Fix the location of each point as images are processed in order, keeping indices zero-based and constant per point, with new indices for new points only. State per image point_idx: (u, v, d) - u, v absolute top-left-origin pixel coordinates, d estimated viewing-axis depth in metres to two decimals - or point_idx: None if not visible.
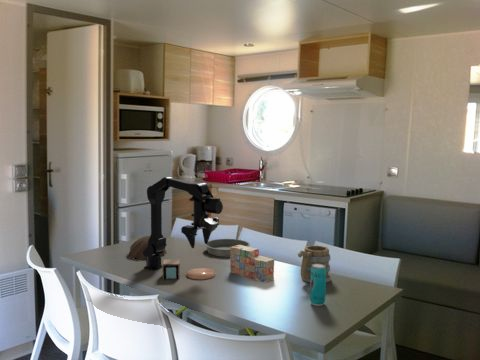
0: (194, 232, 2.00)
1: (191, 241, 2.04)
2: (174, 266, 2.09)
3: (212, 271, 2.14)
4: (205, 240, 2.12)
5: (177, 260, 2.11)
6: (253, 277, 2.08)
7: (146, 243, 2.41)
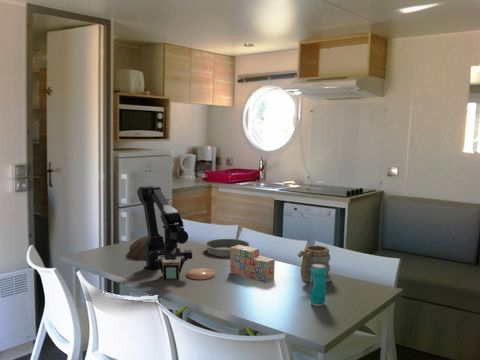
0: (154, 258, 2.05)
1: (160, 266, 2.09)
2: (174, 266, 2.09)
3: (212, 271, 2.14)
4: (179, 269, 2.10)
5: (177, 260, 2.11)
6: (253, 277, 2.08)
7: None
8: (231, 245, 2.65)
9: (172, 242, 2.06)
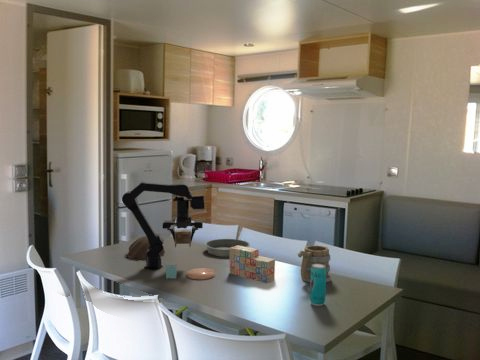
0: (166, 227, 2.20)
1: None
2: (174, 266, 2.09)
3: (212, 271, 2.14)
4: None
5: (188, 230, 2.25)
6: (254, 278, 2.07)
7: (145, 243, 2.41)
8: (231, 245, 2.65)
9: (184, 212, 2.20)
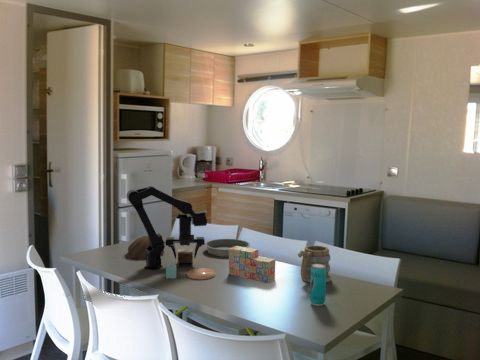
0: (169, 244, 2.24)
1: (173, 252, 2.28)
2: (174, 266, 2.09)
3: (212, 271, 2.14)
4: (194, 254, 2.30)
5: (190, 249, 2.30)
6: (254, 278, 2.07)
7: (145, 243, 2.41)
8: (231, 245, 2.65)
9: (186, 229, 2.25)
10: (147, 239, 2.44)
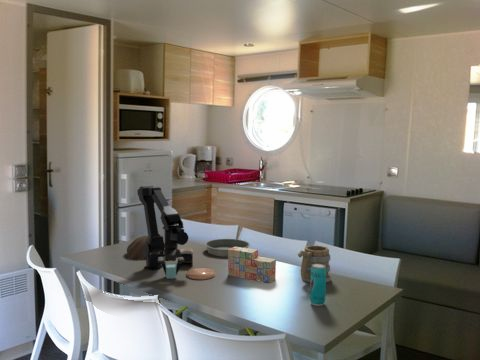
0: (154, 259, 2.05)
1: (163, 267, 2.09)
2: (174, 266, 2.09)
3: (212, 271, 2.14)
4: (176, 270, 2.10)
5: (190, 249, 2.30)
6: (255, 278, 2.06)
7: (145, 243, 2.42)
8: (231, 245, 2.65)
9: (172, 243, 2.06)
10: None
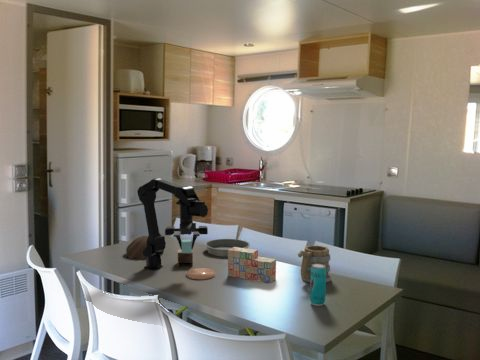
0: (169, 233, 2.05)
1: None
2: (189, 240, 2.09)
3: (212, 271, 2.14)
4: None
5: None
6: (256, 279, 2.06)
7: (145, 243, 2.42)
8: (231, 245, 2.65)
9: (187, 217, 2.06)
10: (146, 239, 2.44)
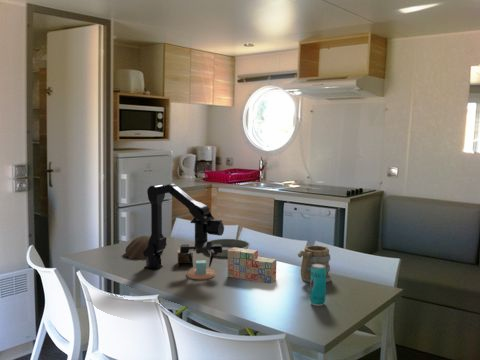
0: (184, 252, 2.08)
1: (190, 260, 2.12)
2: (204, 262, 2.12)
3: (212, 271, 2.14)
4: (209, 263, 2.13)
5: None
6: (256, 279, 2.05)
7: (144, 243, 2.42)
8: (231, 245, 2.65)
9: (202, 236, 2.08)
10: (146, 239, 2.44)
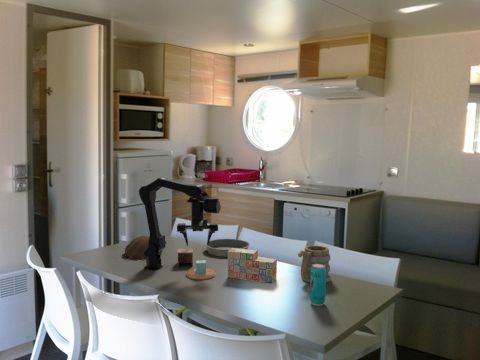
0: (181, 230, 2.12)
1: (185, 239, 2.15)
2: (204, 262, 2.12)
3: (212, 271, 2.14)
4: (207, 241, 2.17)
5: (190, 249, 2.30)
6: (257, 279, 2.05)
7: (144, 243, 2.42)
8: (231, 245, 2.65)
9: (199, 214, 2.12)
10: (145, 239, 2.44)
